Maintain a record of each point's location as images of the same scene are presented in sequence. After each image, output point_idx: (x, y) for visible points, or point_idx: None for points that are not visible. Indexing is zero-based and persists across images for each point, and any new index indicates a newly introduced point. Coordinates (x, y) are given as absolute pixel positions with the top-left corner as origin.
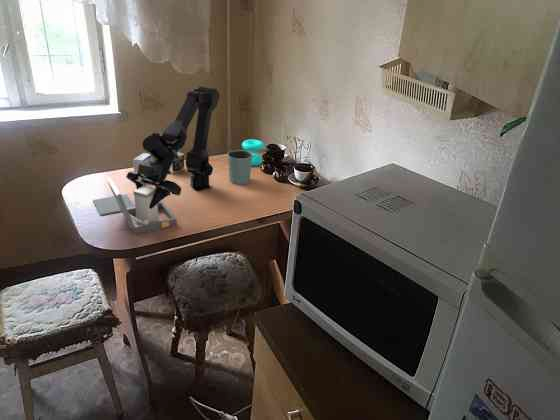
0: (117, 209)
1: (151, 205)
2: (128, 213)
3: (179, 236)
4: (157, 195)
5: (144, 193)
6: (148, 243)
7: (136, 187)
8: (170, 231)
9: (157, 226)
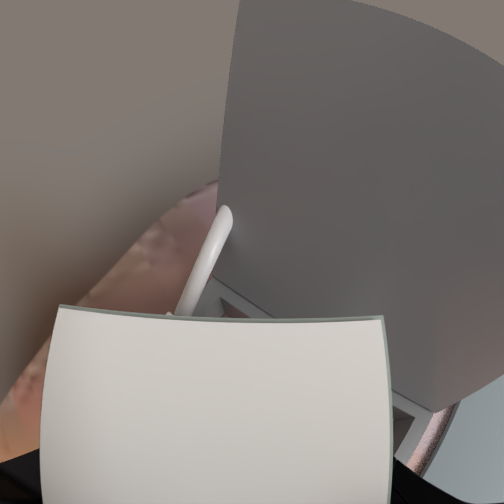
0: (466, 418)
1: None
2: (221, 182)
3: (38, 357)
4: (24, 455)
5: (102, 334)
6: (126, 259)
7: (461, 500)
8: None
9: None
